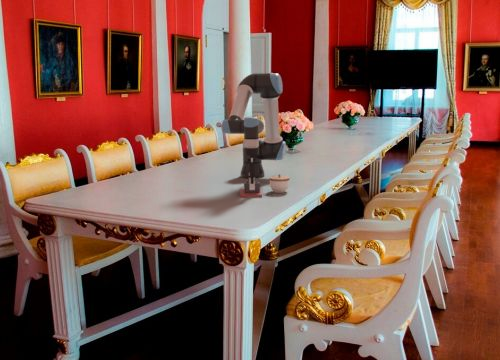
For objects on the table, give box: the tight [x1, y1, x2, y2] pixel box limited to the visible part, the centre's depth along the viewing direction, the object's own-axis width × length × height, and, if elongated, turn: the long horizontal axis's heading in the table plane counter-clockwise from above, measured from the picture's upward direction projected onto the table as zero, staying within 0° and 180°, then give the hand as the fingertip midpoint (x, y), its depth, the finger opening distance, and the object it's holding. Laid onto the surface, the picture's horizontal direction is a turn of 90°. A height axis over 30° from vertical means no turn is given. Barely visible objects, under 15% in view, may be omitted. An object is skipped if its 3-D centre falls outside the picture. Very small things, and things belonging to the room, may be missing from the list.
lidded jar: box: [269, 173, 291, 194], centre depth 282 cm, size 11×11×9 cm
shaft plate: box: [240, 182, 263, 198], centre depth 277 cm, size 16×11×7 cm
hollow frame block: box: [243, 180, 261, 193], centre depth 277 cm, size 8×7×5 cm
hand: (251, 187), depth 277 cm, fingers open, 13 cm apart
